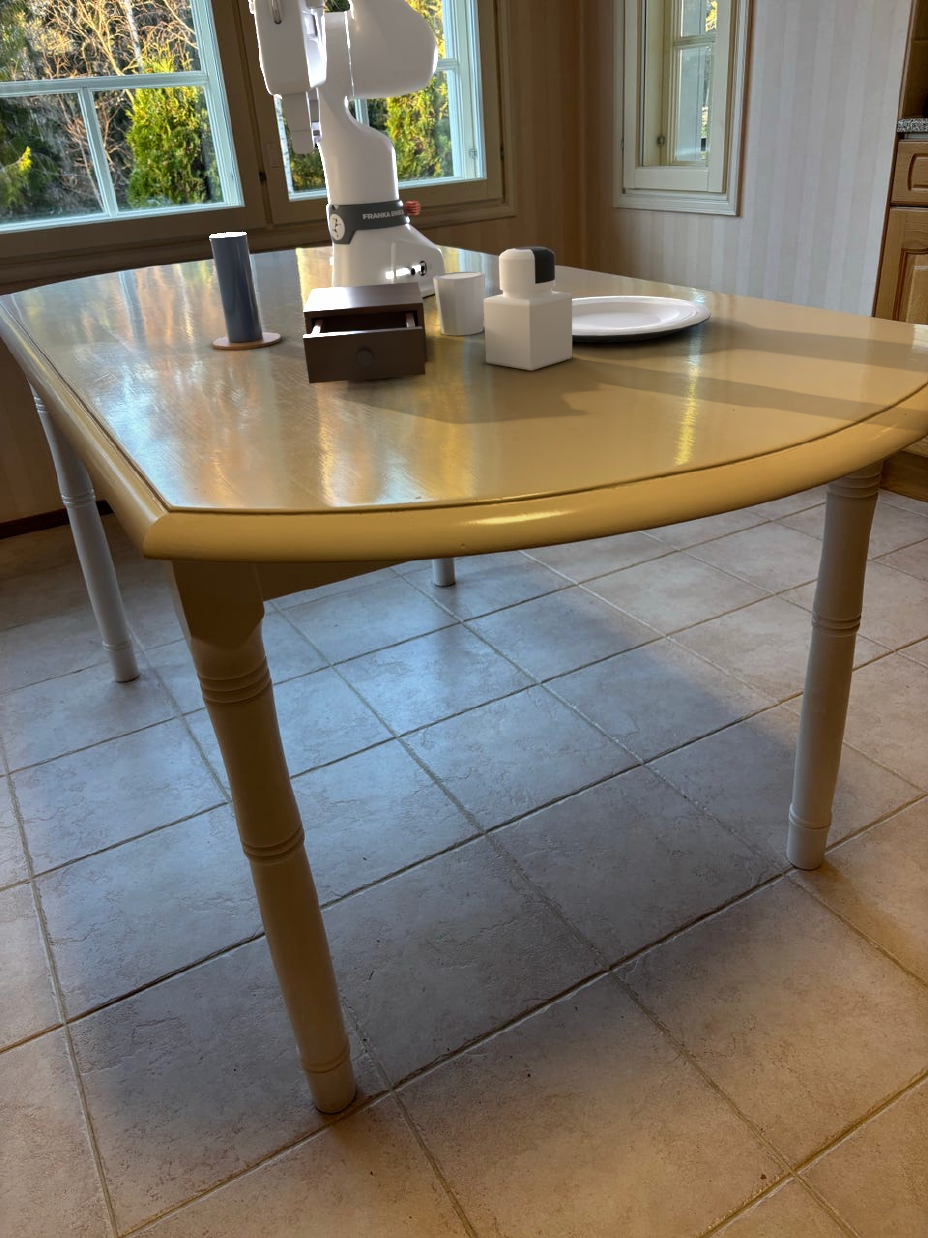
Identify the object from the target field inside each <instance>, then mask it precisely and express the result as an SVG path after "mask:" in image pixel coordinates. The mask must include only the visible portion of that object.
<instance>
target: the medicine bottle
mask: <svg viewBox="0 0 928 1238" xmlns="http://www.w3.org/2000/svg"><path fill="white" fill-rule="evenodd" d="M498 269H499V271H498V274H499V289H500V290H501V291H502V293H500V294H496V295H492V296H489V297H488V296H487V297H484V320H483V323H484V343H485V361H486V364H490V365H496V366H501V367H506V368H507V367H508V368H512V369H513V368H514V369H519V370H526V371H530V372H531V371H535V370H538V369H542V368H545V367H549V366H552V365H554V364H558V363H561V362H564V361H567V360H571V359H572V357H573V341H572V299H573V295H572V293H570V292H564V291H554V290H553V288H555V287H556V254H555V252H554V251H553V250H552V249H549V248H548V247H545V246H519V247H511V248H508V249H506V250H505V251H502V252H501V253H500V254H499V256H498Z"/></svg>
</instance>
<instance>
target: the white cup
mask: <svg viewBox="0 0 928 1238" xmlns="http://www.w3.org/2000/svg"><path fill="white" fill-rule="evenodd" d="M433 282H434V288H435V295H434V296H435V300H436V308H437V313H438V319H439V325H440V326H439V327H440V334H443V335H445V336H468V335H475V334H479V333H481V332H483V331H484V299H485V293H486V292H485V291H486V273H484V272H480V271H479V272H477V271H454V272H453V271H452V272H446V274H441V275H437V276H435V277H433Z"/></svg>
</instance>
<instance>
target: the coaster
mask: <svg viewBox="0 0 928 1238" xmlns="http://www.w3.org/2000/svg"><path fill="white" fill-rule="evenodd" d="M262 334H263V338H262V339H260V340H258V341H253V342H247V343H232V342H229V341H228V336H227V335H226V336H222V337H219V338H216V339H215V340H213V341H212V346H213V347H214V348H215V349H219V350H225V351H226V350H229V351H235V350H238V351H239V350H250V349H256V348H262V347H267V346H271V345H275V344H276V343H279V342H281V340H282V335H281V334H279V333H277V332H270V331H262Z"/></svg>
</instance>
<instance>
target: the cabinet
mask: <svg viewBox="0 0 928 1238" xmlns="http://www.w3.org/2000/svg"><path fill="white" fill-rule="evenodd" d="M399 311H412V312H413V318H414V324H415V327H422V331H423V344H424V357H425V362H428V346H427V334H426V322H425V321H426V319H425V307H424V300H423V297H422V295H421V291H420V287H419V283H418V282H410V283H396V284H382V285H368V286H354V287H340V288H331V287H327V288H314V289H312V290H311V292H310V295H309V297H308V299H307V302H306V304H305V307H304V309H303V313H302V314H303V318H304V325H305V326H304V327H305V333H306V334H305V335H312V332H313V329H314V326H315V323H316V320H317V317H330V316H344V315H358V314H371V313H385V312H399Z"/></svg>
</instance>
